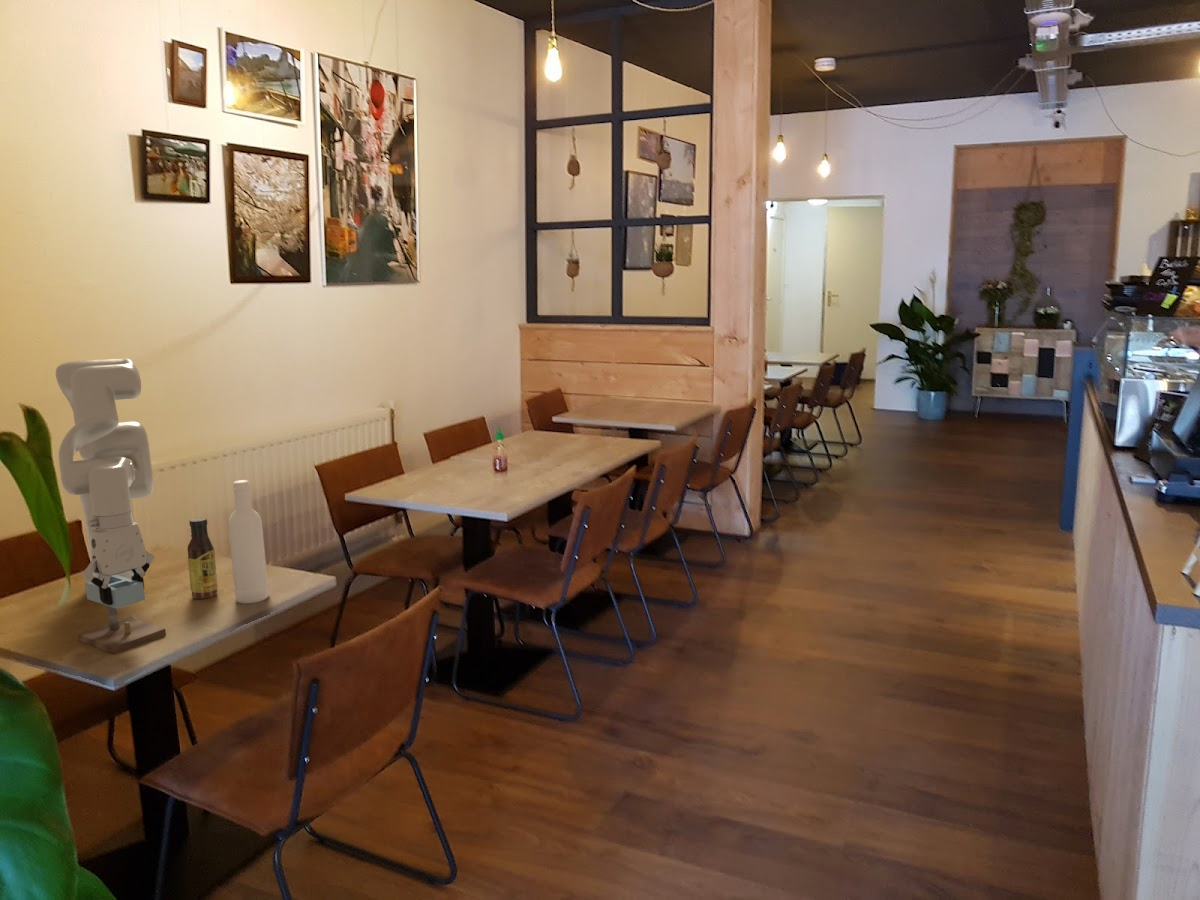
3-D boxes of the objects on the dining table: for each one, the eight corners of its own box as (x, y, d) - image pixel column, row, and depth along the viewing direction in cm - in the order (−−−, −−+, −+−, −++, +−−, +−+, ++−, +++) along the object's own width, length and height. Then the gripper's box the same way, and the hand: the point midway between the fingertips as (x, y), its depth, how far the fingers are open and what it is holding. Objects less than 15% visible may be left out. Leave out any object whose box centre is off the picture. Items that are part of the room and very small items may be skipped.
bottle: (243, 592, 233) (232, 477, 227) (274, 592, 232) (263, 477, 226) (230, 604, 225) (217, 485, 219) (261, 603, 225) (250, 485, 219)
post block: (79, 640, 204) (74, 604, 203) (131, 622, 214) (126, 588, 212) (113, 653, 197) (108, 616, 195) (166, 634, 207) (161, 599, 205)
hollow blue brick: (87, 599, 204) (84, 582, 204) (115, 590, 210) (113, 573, 209) (116, 608, 198) (114, 591, 197) (145, 599, 203) (142, 582, 202)
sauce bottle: (208, 600, 227) (200, 524, 223) (186, 599, 228) (177, 522, 225) (224, 591, 234) (216, 516, 230) (202, 590, 235) (194, 515, 231)
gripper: (82, 532, 190) (93, 614, 193) (160, 513, 204) (169, 590, 207) (63, 527, 194) (74, 608, 197) (141, 509, 208) (150, 584, 211)
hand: (123, 598), depth 202 cm, fingers closed on hollow blue brick, 6 cm apart
